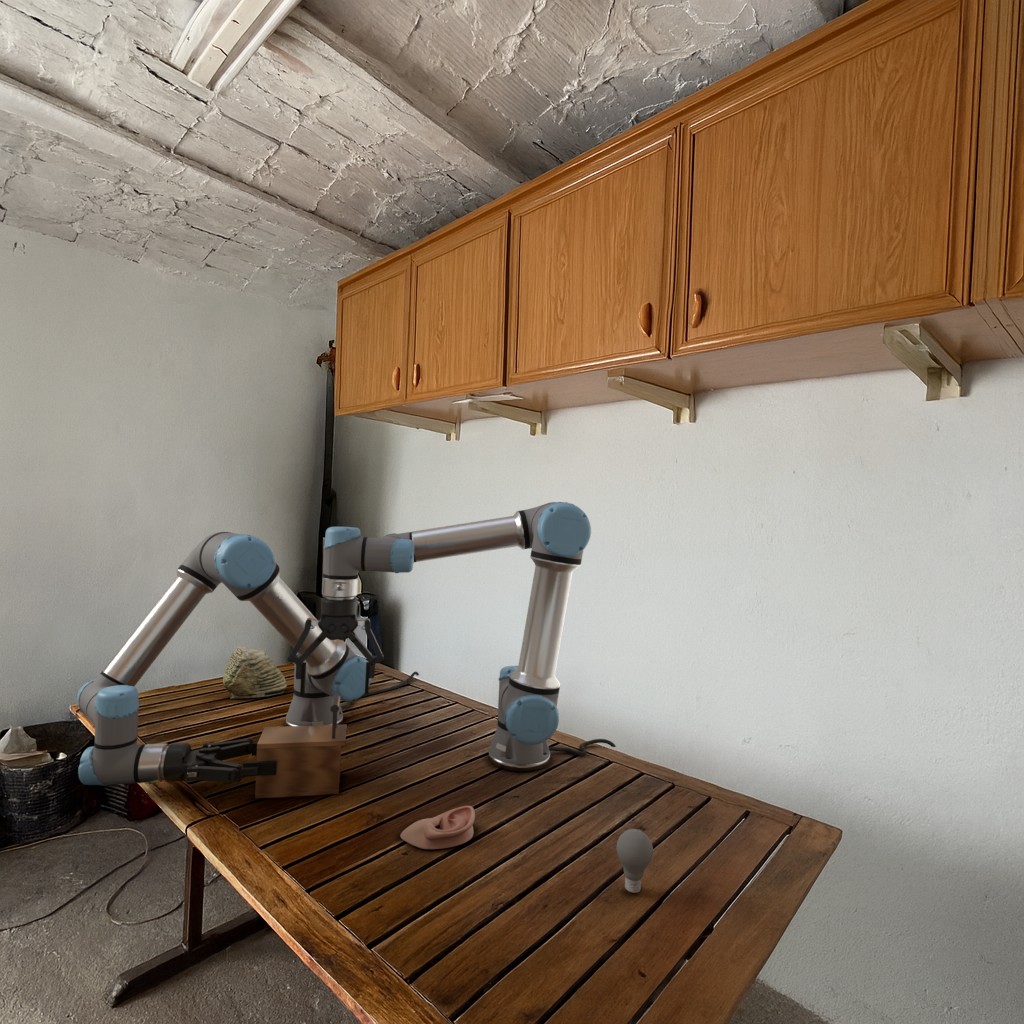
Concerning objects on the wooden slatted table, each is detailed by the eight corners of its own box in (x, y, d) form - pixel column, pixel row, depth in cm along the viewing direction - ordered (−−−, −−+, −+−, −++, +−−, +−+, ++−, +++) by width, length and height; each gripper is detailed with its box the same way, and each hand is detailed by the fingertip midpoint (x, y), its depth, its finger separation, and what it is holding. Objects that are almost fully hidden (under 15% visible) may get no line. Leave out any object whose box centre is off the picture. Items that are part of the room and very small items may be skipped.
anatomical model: (394, 823, 116) (416, 795, 127) (393, 844, 116) (415, 814, 128) (464, 834, 114) (480, 804, 125) (463, 855, 114) (479, 824, 125)
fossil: (218, 695, 195) (220, 647, 195) (278, 685, 208) (279, 640, 207) (228, 703, 189) (230, 653, 188) (289, 692, 201) (290, 645, 201)
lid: (346, 728, 145) (347, 692, 145) (344, 745, 135) (346, 706, 135) (264, 731, 141) (265, 694, 141) (256, 749, 131) (258, 708, 131)
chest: (340, 774, 145) (342, 729, 145) (338, 794, 135) (340, 746, 135) (262, 778, 141) (264, 732, 141) (254, 798, 132) (256, 749, 131)
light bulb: (610, 879, 108) (613, 822, 108) (644, 879, 109) (647, 822, 109) (619, 902, 102) (622, 840, 102) (655, 901, 103) (658, 840, 103)
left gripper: (181, 758, 143) (285, 753, 148) (148, 806, 121) (271, 798, 126) (183, 725, 143) (286, 722, 148) (149, 767, 121) (272, 761, 126)
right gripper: (277, 598, 133) (272, 699, 133) (397, 600, 138) (393, 697, 139) (281, 593, 140) (277, 688, 140) (396, 595, 145) (391, 687, 146)
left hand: (279, 757), depth 137 cm, fingers closed on chest, 10 cm apart
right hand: (334, 693), depth 139 cm, fingers open, 13 cm apart
